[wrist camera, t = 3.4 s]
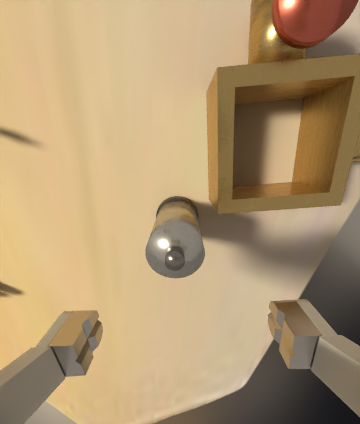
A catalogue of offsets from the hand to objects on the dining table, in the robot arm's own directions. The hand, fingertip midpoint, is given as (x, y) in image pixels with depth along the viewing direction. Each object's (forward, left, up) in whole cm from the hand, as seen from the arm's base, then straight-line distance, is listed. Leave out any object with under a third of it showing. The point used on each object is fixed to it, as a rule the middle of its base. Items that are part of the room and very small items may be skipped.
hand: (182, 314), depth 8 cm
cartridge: (-1, 0, -13) cm, 13 cm away
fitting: (+10, +10, -13) cm, 19 cm away
